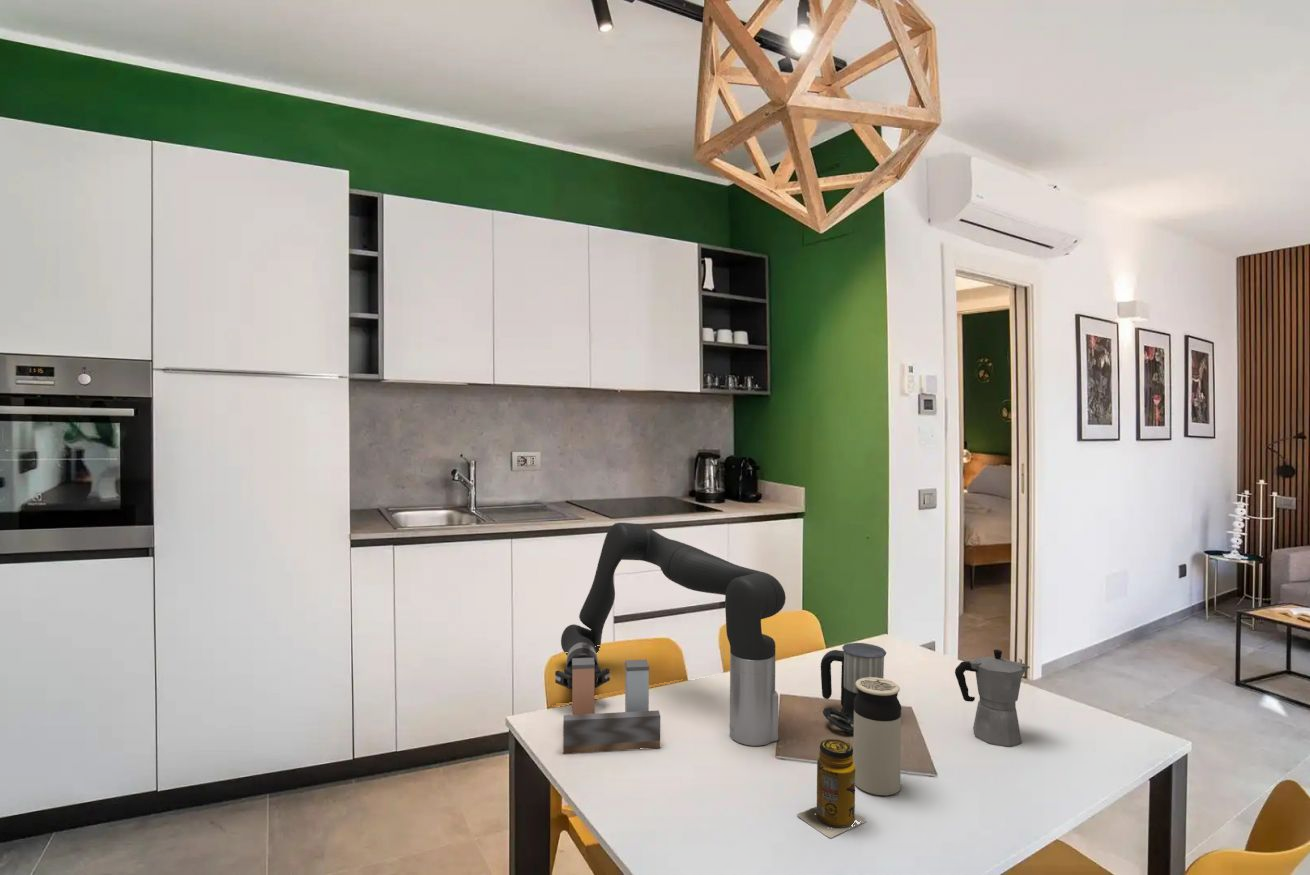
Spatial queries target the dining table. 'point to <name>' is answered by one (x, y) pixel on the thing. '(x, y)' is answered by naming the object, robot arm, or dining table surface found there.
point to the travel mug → (877, 736)
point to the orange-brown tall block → (583, 685)
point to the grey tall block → (636, 685)
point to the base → (611, 731)
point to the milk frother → (850, 678)
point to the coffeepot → (994, 697)
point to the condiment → (834, 790)
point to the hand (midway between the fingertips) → (583, 690)
